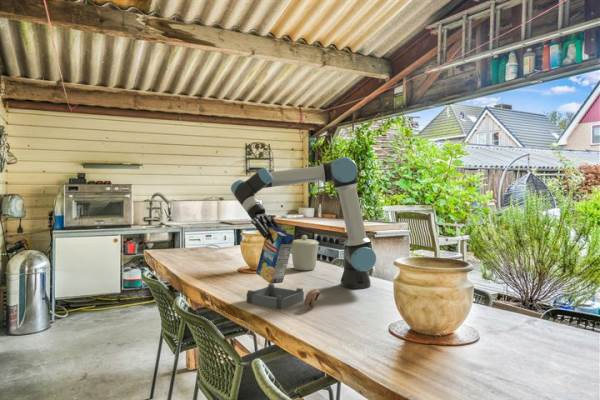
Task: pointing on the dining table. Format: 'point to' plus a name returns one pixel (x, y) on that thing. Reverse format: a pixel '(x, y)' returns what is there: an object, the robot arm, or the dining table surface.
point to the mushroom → (311, 298)
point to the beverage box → (275, 255)
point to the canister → (304, 253)
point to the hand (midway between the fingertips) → (283, 247)
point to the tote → (283, 296)
